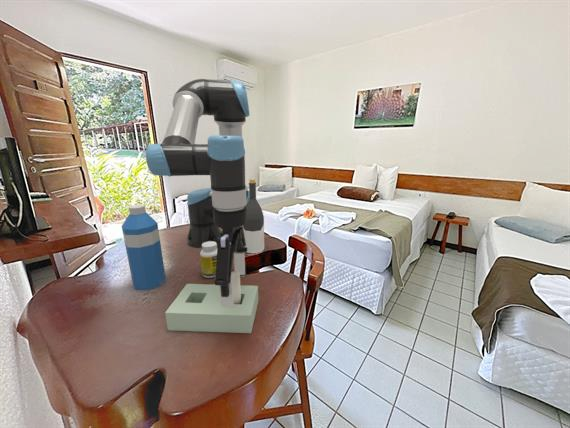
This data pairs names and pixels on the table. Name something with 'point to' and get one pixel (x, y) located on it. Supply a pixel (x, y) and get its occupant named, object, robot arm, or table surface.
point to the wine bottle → (254, 223)
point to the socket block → (211, 310)
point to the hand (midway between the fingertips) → (234, 288)
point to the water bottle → (143, 249)
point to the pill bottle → (208, 259)
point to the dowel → (236, 287)
